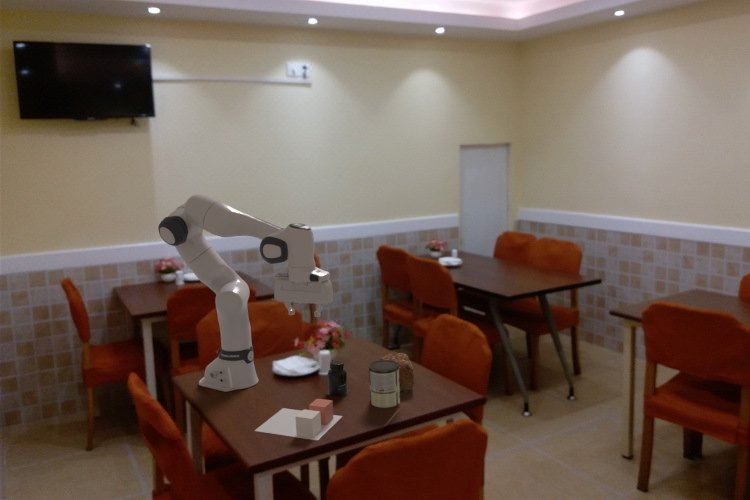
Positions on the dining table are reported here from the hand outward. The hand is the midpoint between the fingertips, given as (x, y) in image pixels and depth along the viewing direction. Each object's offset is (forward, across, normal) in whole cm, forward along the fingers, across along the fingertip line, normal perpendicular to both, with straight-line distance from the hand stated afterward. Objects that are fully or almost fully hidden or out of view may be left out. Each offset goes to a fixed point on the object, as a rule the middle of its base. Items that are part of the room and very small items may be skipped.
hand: (304, 315), depth 212 cm
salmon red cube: (+32, +8, -7) cm, 34 cm away
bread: (+34, +19, +33) cm, 51 cm away
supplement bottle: (+33, +3, +16) cm, 37 cm away
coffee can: (+33, +22, +13) cm, 42 cm away
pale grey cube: (+32, +8, -16) cm, 37 cm away
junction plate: (+33, +2, -11) cm, 35 cm away
